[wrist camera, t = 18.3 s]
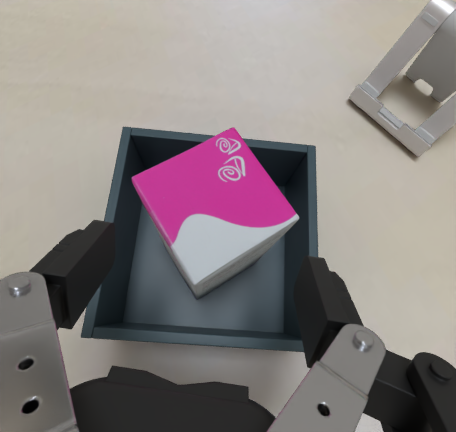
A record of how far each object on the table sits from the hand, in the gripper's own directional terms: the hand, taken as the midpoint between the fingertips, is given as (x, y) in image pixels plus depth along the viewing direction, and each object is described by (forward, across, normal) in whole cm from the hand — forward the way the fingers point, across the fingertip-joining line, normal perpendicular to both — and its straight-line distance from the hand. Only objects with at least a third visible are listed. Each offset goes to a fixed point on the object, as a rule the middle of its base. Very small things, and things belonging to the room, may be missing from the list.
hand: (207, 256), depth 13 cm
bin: (+10, 0, +6) cm, 12 cm away
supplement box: (+10, 0, +6) cm, 12 cm away
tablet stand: (+23, -16, -6) cm, 29 cm away
